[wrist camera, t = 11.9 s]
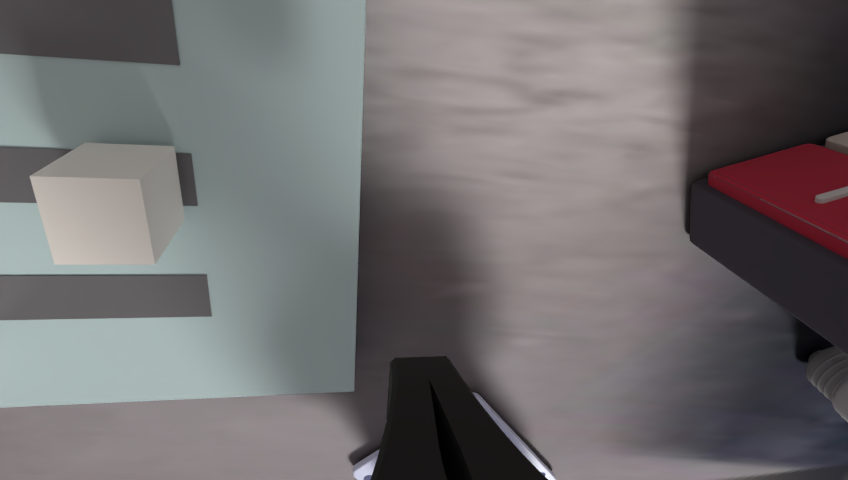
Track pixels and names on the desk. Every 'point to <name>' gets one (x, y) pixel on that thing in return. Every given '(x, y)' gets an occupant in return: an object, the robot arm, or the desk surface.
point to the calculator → (783, 229)
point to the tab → (110, 204)
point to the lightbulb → (830, 376)
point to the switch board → (187, 198)
